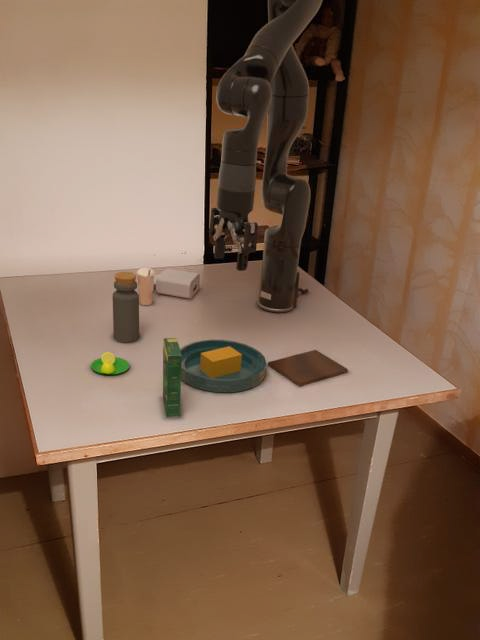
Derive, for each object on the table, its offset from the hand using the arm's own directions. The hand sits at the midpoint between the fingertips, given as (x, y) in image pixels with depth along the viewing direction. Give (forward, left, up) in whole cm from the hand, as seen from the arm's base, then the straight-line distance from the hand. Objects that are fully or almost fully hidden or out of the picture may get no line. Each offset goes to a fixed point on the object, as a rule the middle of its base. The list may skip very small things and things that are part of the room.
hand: (229, 264), depth 144 cm
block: (+8, +10, -20) cm, 23 cm away
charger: (-6, -36, -20) cm, 42 cm away
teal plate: (+8, +10, -20) cm, 23 cm away
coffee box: (+25, +18, -20) cm, 36 cm away
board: (-10, +18, -20) cm, 28 cm away
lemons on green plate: (+28, -2, -20) cm, 34 cm away
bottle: (+18, -14, -20) cm, 30 cm away
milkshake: (+4, -30, -20) cm, 37 cm away
